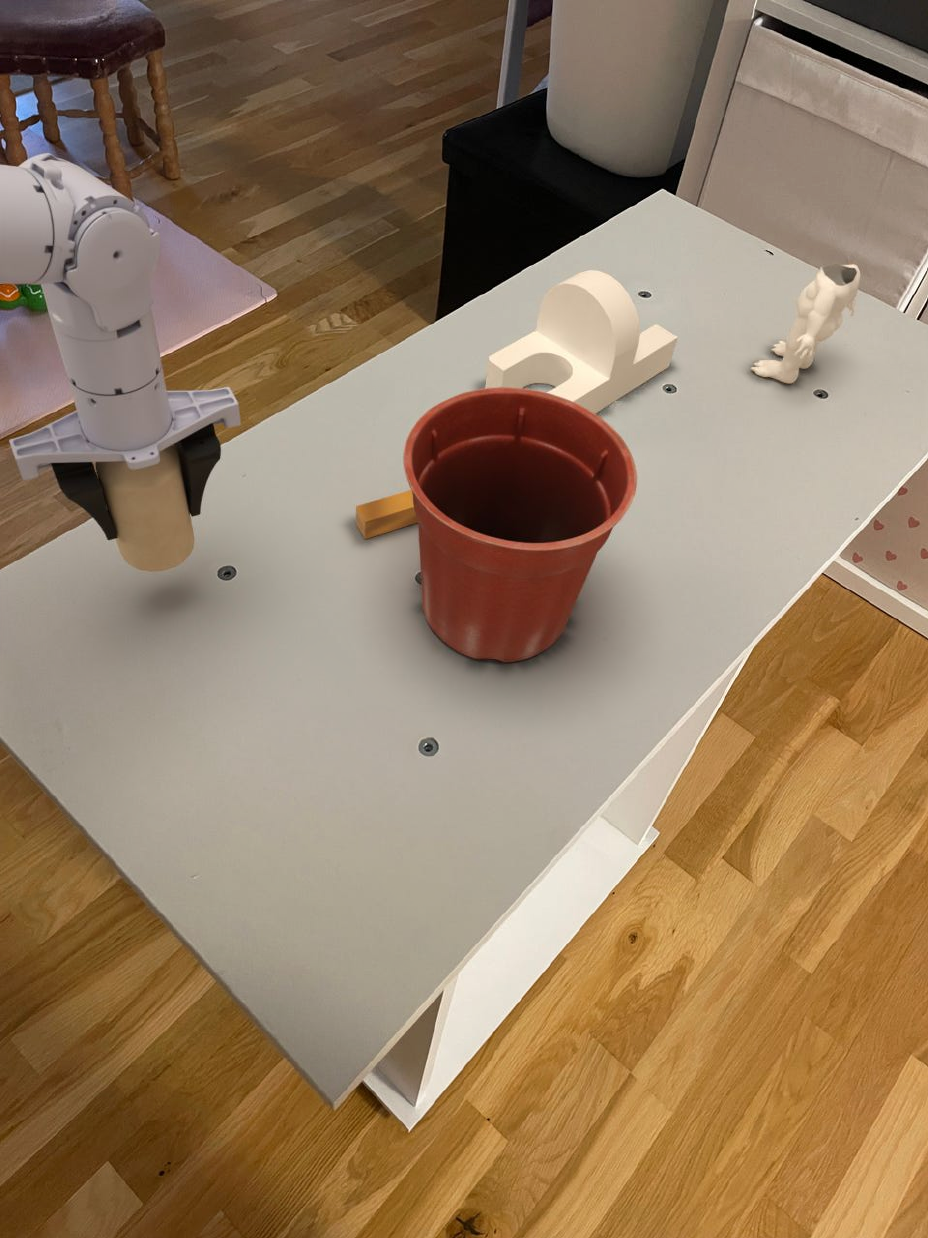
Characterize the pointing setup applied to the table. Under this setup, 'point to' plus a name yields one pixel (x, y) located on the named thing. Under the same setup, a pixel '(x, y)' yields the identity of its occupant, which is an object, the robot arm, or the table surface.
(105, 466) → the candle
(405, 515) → the fry stick
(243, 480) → the table surface
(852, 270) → the toy creature
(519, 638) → the flower pot
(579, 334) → the block with arch cutout
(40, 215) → the robot arm
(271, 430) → the table surface
